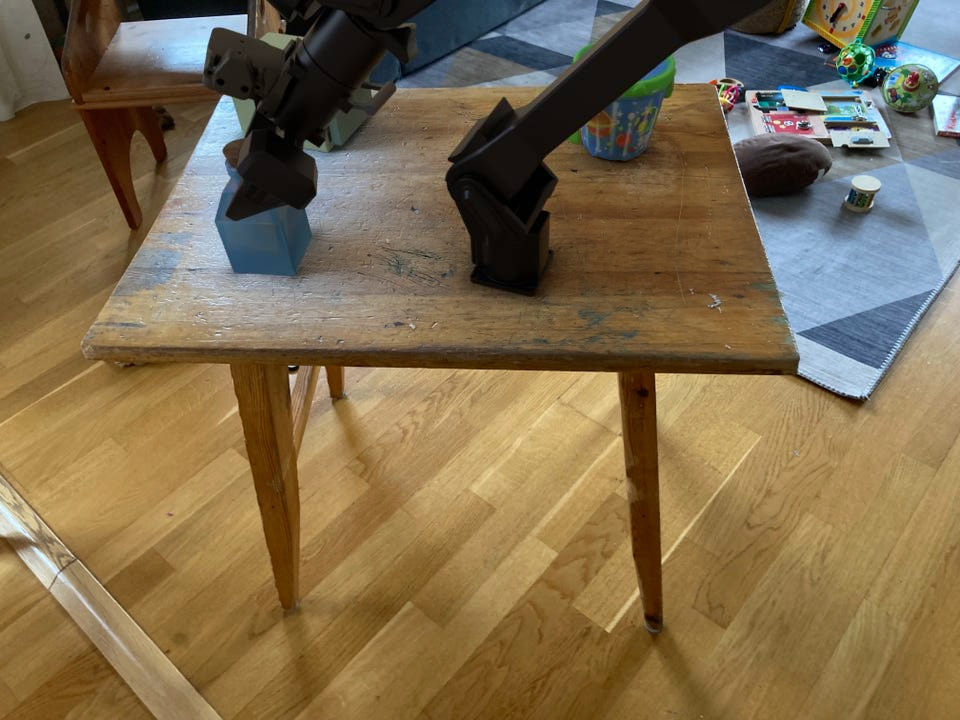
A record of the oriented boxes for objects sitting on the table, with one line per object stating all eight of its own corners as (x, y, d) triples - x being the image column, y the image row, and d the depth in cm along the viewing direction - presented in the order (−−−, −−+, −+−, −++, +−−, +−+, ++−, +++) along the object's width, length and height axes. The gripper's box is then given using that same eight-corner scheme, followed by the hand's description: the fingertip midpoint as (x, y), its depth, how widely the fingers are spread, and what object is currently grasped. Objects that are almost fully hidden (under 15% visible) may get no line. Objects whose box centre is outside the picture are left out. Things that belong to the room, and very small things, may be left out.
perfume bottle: (294, 276, 72) (262, 169, 63) (233, 272, 72) (193, 166, 64) (312, 236, 76) (284, 130, 67) (254, 233, 76) (219, 128, 68)
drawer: (406, 115, 89) (399, 60, 84) (375, 152, 84) (365, 96, 79) (300, 97, 93) (287, 44, 88) (264, 131, 88) (248, 76, 83)
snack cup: (635, 105, 91) (646, 21, 83) (698, 143, 85) (715, 56, 77) (532, 147, 85) (534, 62, 78) (591, 190, 79) (598, 102, 72)
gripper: (255, -48, 63) (169, 87, 71) (230, 52, 50) (129, 202, 58) (362, 36, 69) (272, 151, 77) (364, 143, 57) (256, 268, 64)
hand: (235, 188), depth 69 cm, fingers open, 9 cm apart
